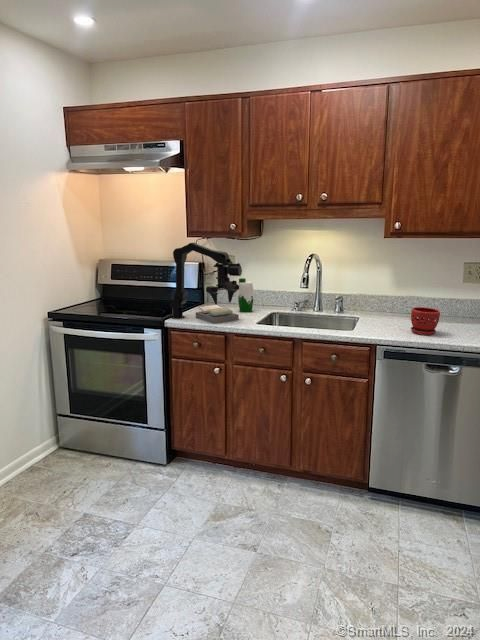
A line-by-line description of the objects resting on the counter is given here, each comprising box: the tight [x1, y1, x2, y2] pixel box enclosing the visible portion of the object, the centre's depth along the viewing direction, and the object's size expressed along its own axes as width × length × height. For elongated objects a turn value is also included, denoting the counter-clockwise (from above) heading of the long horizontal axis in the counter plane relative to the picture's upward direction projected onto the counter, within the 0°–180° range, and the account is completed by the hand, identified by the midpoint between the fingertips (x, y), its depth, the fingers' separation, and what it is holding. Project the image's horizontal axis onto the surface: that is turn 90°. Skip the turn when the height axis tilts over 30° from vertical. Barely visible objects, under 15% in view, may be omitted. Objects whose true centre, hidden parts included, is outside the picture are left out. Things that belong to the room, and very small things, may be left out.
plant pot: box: [410, 306, 441, 336], centre depth 229 cm, size 13×13×12 cm
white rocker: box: [198, 304, 222, 313], centre depth 268 cm, size 6×12×2 cm, turn 127°
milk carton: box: [237, 277, 254, 313], centre depth 283 cm, size 9×9×20 cm
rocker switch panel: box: [195, 311, 240, 325], centre depth 264 cm, size 20×16×3 cm
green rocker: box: [209, 307, 234, 316], centre depth 260 cm, size 6×12×2 cm, turn 127°
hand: (223, 303), depth 257 cm, fingers open, 9 cm apart
